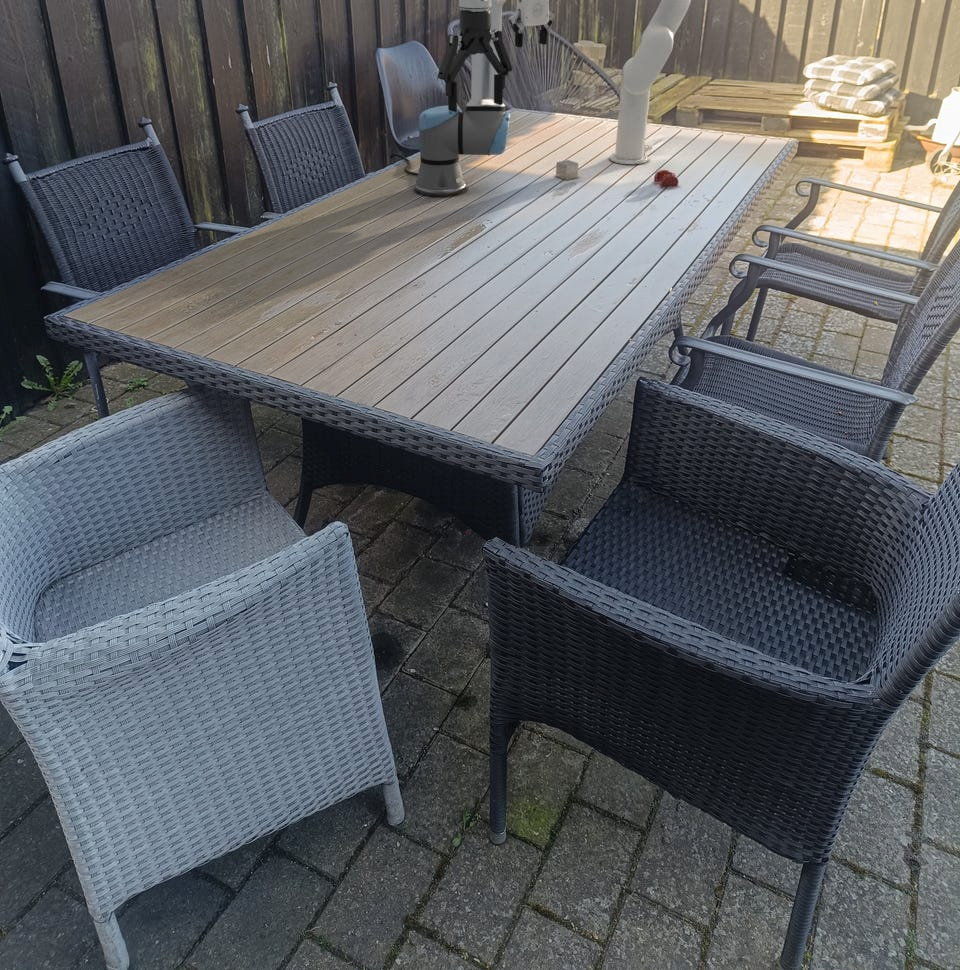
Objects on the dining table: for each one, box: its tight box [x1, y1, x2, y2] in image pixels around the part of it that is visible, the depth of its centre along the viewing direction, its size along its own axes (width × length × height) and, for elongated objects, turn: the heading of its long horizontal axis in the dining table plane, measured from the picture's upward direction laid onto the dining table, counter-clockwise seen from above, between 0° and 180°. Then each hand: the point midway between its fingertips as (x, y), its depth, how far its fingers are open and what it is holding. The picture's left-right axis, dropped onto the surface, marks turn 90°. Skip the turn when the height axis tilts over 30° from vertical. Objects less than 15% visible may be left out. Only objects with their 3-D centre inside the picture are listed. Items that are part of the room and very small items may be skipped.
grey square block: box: [555, 159, 579, 181], centre depth 269 cm, size 5×5×4 cm
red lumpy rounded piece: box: [653, 169, 679, 188], centre depth 261 cm, size 6×4×8 cm
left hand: (475, 107), depth 208 cm, fingers open, 13 cm apart
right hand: (531, 45), depth 269 cm, fingers open, 9 cm apart
